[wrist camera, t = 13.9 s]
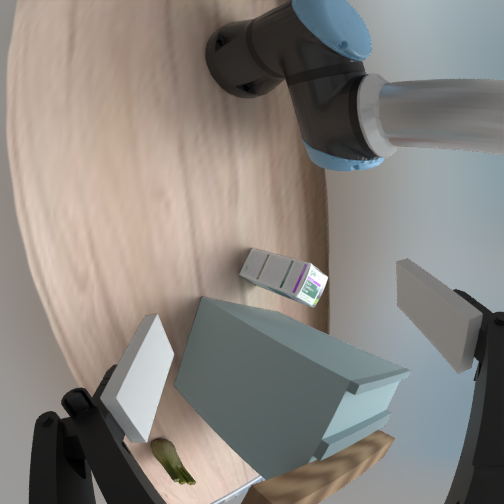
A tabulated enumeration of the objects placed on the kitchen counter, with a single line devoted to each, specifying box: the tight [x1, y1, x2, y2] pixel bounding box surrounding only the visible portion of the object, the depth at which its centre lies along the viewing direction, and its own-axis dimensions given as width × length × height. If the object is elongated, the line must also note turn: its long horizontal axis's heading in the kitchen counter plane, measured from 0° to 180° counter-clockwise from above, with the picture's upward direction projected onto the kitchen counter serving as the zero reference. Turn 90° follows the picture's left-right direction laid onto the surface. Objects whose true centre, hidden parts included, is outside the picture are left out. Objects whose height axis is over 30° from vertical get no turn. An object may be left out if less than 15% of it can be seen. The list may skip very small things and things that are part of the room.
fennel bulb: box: [151, 439, 196, 485], centre depth 45 cm, size 6×5×12 cm
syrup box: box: [239, 248, 328, 307], centre depth 51 cm, size 6×6×14 cm
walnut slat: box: [241, 430, 395, 504], centre depth 29 cm, size 29×4×4 cm, turn 67°
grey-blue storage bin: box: [174, 296, 411, 480], centre depth 45 cm, size 18×20×31 cm
